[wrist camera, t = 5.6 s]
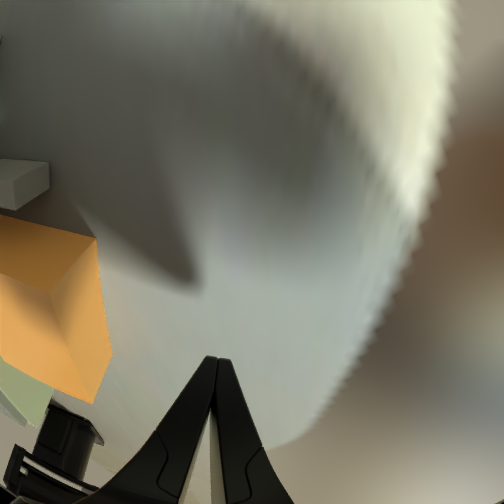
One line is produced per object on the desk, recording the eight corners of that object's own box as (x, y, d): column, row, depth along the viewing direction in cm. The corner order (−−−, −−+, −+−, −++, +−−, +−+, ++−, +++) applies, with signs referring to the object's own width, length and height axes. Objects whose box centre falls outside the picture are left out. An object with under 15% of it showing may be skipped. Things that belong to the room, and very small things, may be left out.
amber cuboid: (114, 350, 13) (92, 404, 10) (30, 319, 12) (3, 360, 9) (99, 234, 9) (49, 292, 6) (1, 211, 9) (-47, 249, 6)
